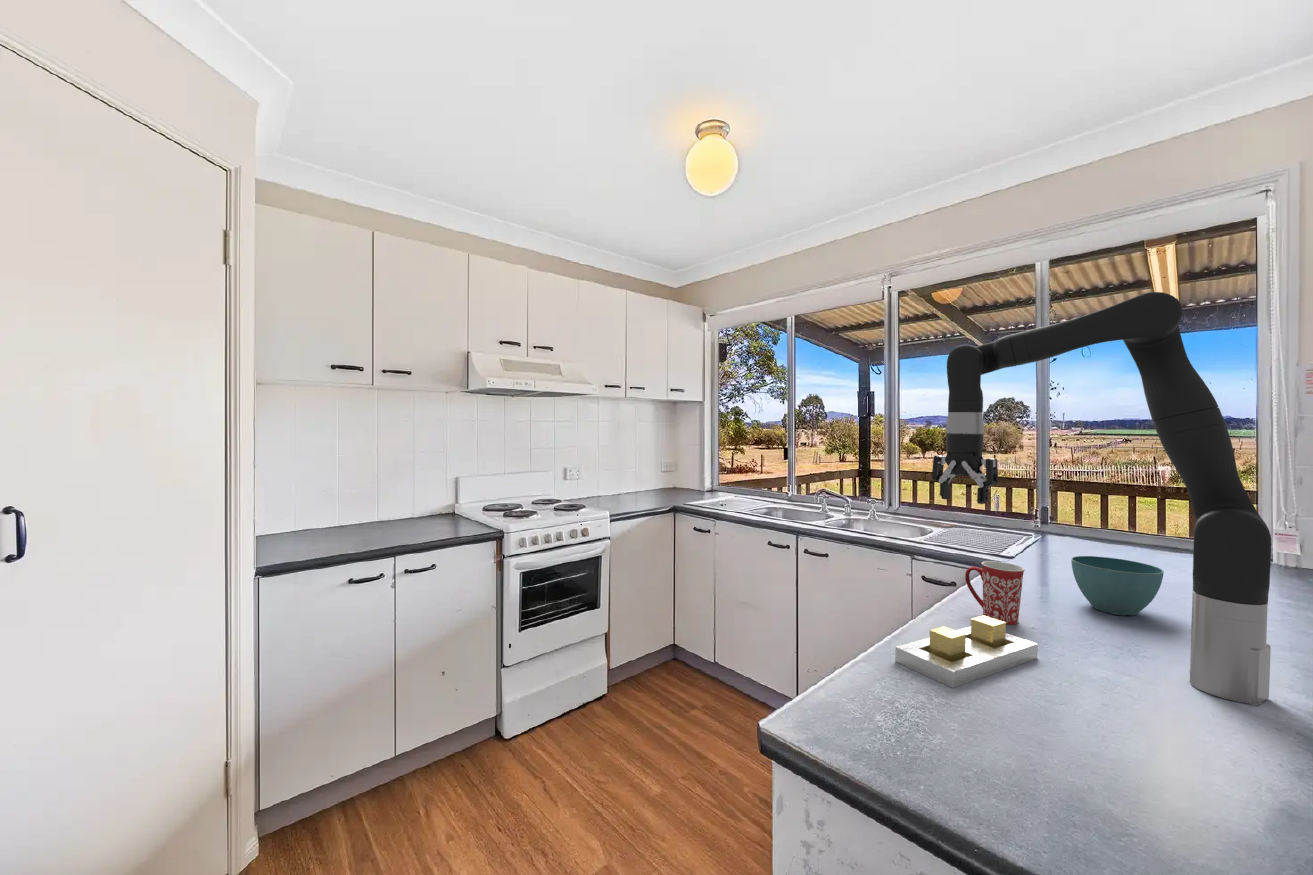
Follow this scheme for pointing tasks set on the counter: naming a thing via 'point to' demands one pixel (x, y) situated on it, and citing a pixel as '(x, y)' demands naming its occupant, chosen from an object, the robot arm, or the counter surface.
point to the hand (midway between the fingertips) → (962, 501)
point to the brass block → (947, 644)
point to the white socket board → (966, 659)
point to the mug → (999, 590)
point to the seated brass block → (988, 631)
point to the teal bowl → (1116, 583)
